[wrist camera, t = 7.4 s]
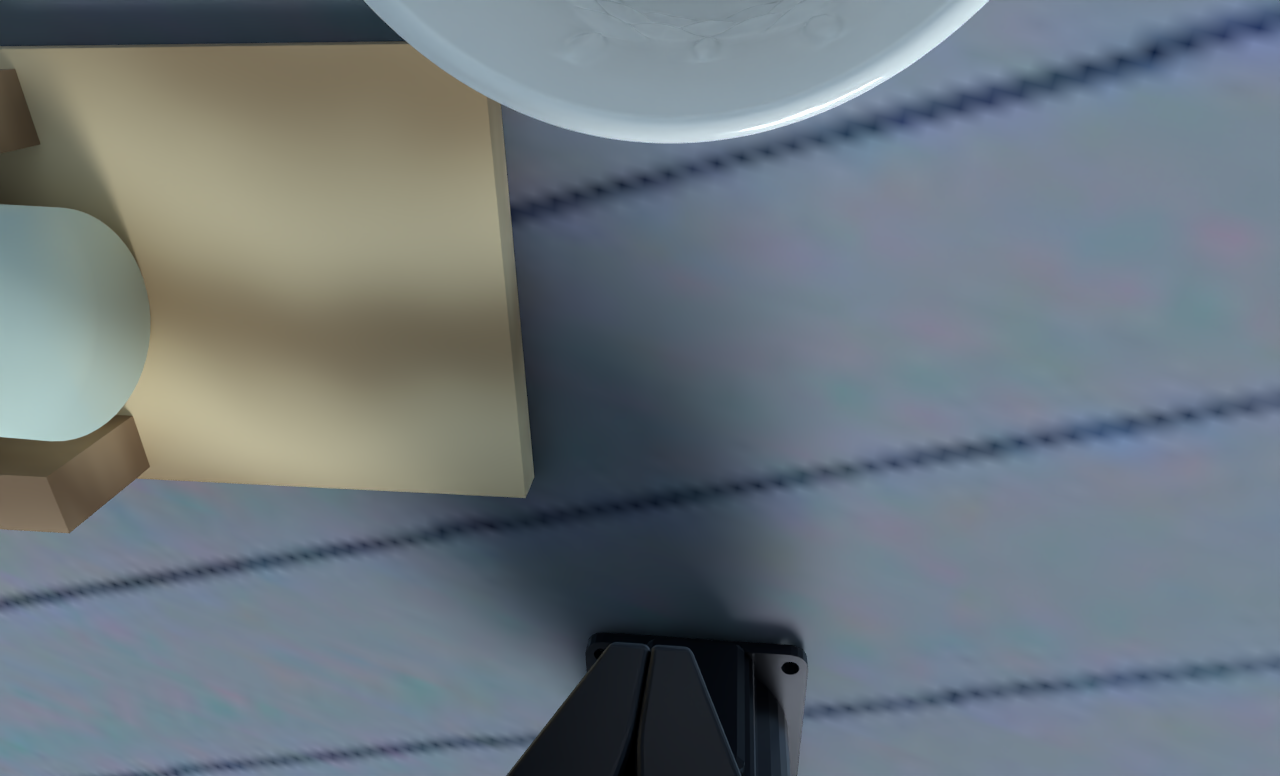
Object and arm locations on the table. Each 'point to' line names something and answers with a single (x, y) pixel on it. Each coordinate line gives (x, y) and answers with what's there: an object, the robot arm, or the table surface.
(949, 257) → the table surface
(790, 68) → the white cup
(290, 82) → the cradle board
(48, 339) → the bottle
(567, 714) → the robot arm
